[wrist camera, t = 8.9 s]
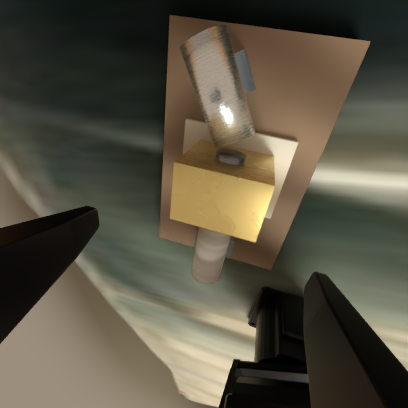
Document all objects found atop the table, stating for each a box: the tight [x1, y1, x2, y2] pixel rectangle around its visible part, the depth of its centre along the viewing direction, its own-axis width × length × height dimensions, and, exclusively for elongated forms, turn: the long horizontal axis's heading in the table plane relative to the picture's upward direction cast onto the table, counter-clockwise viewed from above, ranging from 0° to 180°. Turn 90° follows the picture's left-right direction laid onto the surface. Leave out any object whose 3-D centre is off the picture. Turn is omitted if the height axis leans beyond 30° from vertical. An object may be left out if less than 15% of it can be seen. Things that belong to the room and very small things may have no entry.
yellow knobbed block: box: [170, 140, 275, 243], centre depth 14 cm, size 4×5×5 cm
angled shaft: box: [180, 25, 256, 148], centre depth 12 cm, size 5×3×4 cm, turn 21°
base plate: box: [159, 15, 371, 284], centre depth 15 cm, size 17×11×6 cm, turn 171°
